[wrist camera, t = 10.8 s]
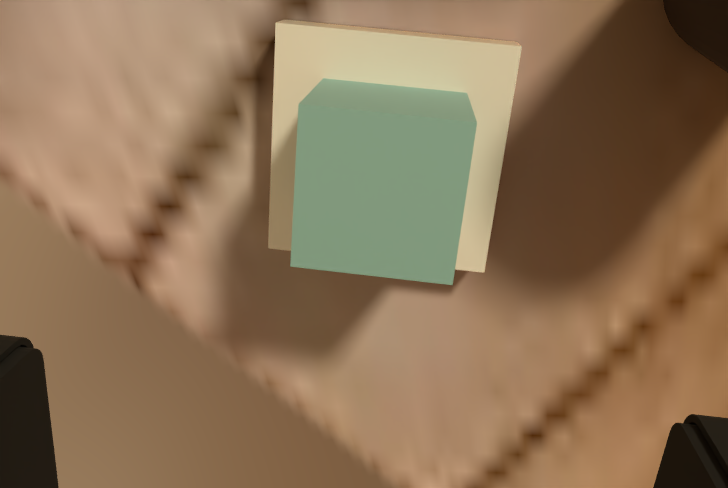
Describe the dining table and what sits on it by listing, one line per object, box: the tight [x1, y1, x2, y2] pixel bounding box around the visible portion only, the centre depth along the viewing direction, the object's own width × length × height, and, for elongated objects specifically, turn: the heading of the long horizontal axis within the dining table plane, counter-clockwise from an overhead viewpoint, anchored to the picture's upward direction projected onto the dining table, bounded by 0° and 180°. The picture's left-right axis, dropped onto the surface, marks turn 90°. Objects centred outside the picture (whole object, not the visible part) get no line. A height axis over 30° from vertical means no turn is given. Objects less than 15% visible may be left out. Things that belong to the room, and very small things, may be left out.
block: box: [290, 78, 477, 285], centre depth 27 cm, size 6×6×6 cm
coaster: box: [268, 20, 522, 273], centre depth 30 cm, size 10×10×2 cm
